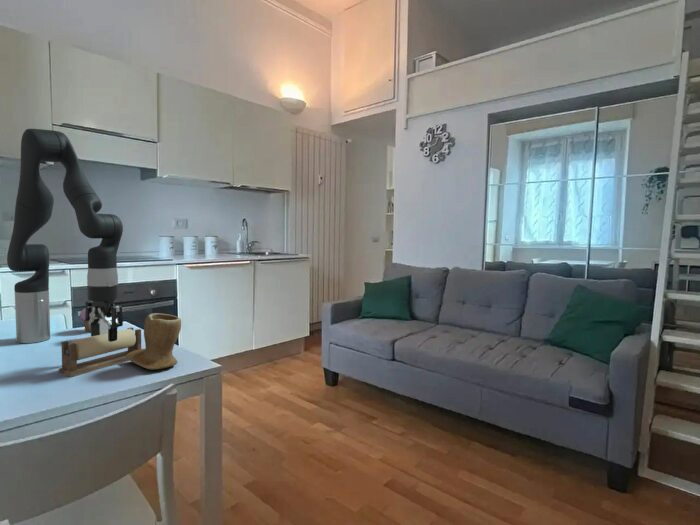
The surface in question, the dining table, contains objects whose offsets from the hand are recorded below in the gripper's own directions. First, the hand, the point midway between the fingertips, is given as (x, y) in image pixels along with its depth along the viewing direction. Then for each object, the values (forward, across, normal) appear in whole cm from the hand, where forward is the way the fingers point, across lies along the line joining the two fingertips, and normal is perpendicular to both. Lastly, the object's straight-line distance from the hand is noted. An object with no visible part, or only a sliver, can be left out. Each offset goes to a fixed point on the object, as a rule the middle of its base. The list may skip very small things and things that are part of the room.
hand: (104, 338), depth 116 cm
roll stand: (+8, 0, 0) cm, 8 cm away
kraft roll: (+4, 0, 0) cm, 4 cm away
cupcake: (+8, -40, +20) cm, 45 cm away
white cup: (+8, -26, +15) cm, 31 cm away
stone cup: (+8, +13, +8) cm, 17 cm away
